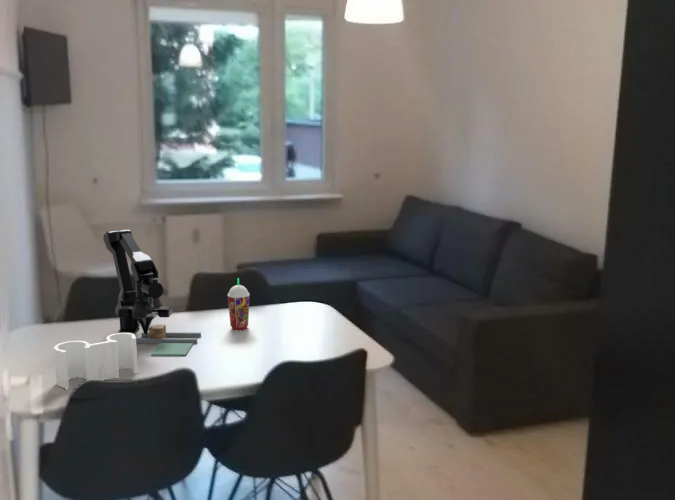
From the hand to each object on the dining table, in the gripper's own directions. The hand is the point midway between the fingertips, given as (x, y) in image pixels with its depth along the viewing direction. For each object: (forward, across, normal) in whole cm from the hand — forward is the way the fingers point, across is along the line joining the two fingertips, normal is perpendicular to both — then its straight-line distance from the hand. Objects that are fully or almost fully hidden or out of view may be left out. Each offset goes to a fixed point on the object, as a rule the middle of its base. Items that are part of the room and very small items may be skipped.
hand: (146, 334), depth 273 cm
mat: (+2, +12, -12) cm, 17 cm away
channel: (+2, +8, 0) cm, 9 cm away
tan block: (+2, +4, 0) cm, 5 cm away
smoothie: (+2, +32, +14) cm, 35 cm away
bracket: (+3, -5, -38) cm, 39 cm away
